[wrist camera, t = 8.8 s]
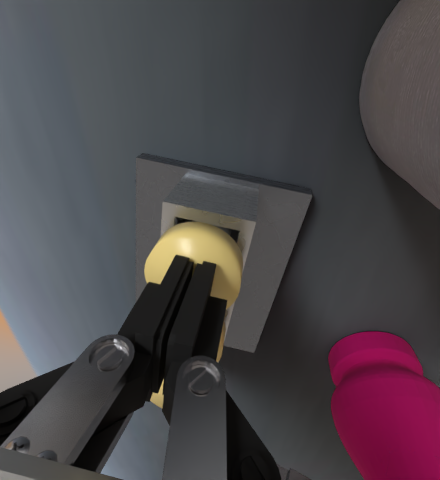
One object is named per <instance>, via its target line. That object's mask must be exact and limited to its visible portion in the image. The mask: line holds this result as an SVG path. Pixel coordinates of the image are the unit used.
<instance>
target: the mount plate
mask: <svg viewBox="0 0 440 480" xmlns="http://www.w3.org/2000/svg"><path fill="white" fill-rule="evenodd" d="M312 196H313V195H312V192H311V189H309V188H305V187H300V186H295V185H291V184H286V183H281V182H276V181H272V180H267V179H262V178H258V177H253V176H248V175H244V174H239V173H234V172H229V171H225V170H220V169H215V168H211V167H206V166H201V165H196V164H192V163H187V162H182V161H178V160H173V159H168V158H163V157H159V156H154V155H149V154H145V153H142V154H141V155H139V156H138V157H136V302H137V300H138V298H139V297H140V295H141V293H142V291H143V290H144V288H145V286H146V285H147V282H146V279H145V273H144V269H145V263H146V260H147V258H148V256H149V254H150V253H151V251H152V250H153V248H154V247H155V245H156V244H157V242H158V241H159V239H160V238H161V236H162V235H163V234H164V233H165V232H166V231H167V230H168V229H169V228H171V227H173V226H175V225H177V224H180V223H184V222H192V220H193V221H197V222H203V223H207V224H211V225H215V226H220V227H224V228H229V229H232V230H231V234H230V236H231V237H232V238H233V240H234V241H235V242H236V243H237V245H238V247H239V249H240V251H241V253H242V257H243V271H242V278H241V286H240V292H239V294H238V297H237V299H236V300H235V302H234V303H233V304H232V305H231V306H230V307H229V308H227V309H226V311H225V317H224V322H225V326H226V332H225V338H224V344H223V346H227V347H231V348H235V349H240V350H244V351H248V352H252V353H254V352H255V349H256V347H257V344H258V341H259V339H260V336H261V333H262V330H263V328H264V325H265V322H266V320H267V317H268V314H269V312H270V309H271V306H272V303H273V301H274V298H275V295H276V293H277V290H278V287H279V285H280V282H281V279H282V276H283V274H284V271H285V268H286V266H287V263H288V260H289V258H290V255H291V252H292V249H293V247H294V244H295V241H296V239H297V236H298V233H299V231H300V228H301V225H302V222H303V220H304V217H305V214H306V212H307V209H308V206H309V204H310V201H311V198H312ZM218 363H219V362H218Z"/></svg>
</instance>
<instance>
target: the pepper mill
mask: <svg viewBox="0 0 440 480" xmlns="http://www.w3.org/2000/svg"><path fill="white" fill-rule="evenodd" d="M328 361H329V366H330V371H331V376H332V380H333V382H334V384H335V385H336V386H337V387H336V389H335V391H334V393H333V395H332V399H331V412H332V416H333V420H334V423H335V427H336V429H337V432H338V434H339V437H340V439H341V441H342V443H343V445H344V447H345V449H346V450H347V452H348V454H349V456H350V457H351V459H352V461H353V462H354V464H355V465H356V467H357V469H358V470H359V472H360V473H361V475H362V477H363V478H364V480H440V388H439V387H437V386H436V385H435V384H434V383H433V382H431V381H430V380H428V379H427V378H425V377H423V369H422V366H421V364H420V362H419V360H418V358H417V356H416V354H415V353H414V351H413V349H412V347H411V346H410V345H409V344H408V343H407V342H406V341H405V340H404V339H402V338H400V337H398V336H396V335H393V334H390V333H386V332H379V331H366V332H360V333H355V334H352V335H349V336H347V337H344V338H343V339H341V340H340V341H338V342H337V343H336V344H335V345H334V346H333V347H332V348H331V350H330V353H329V356H328Z"/></svg>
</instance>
